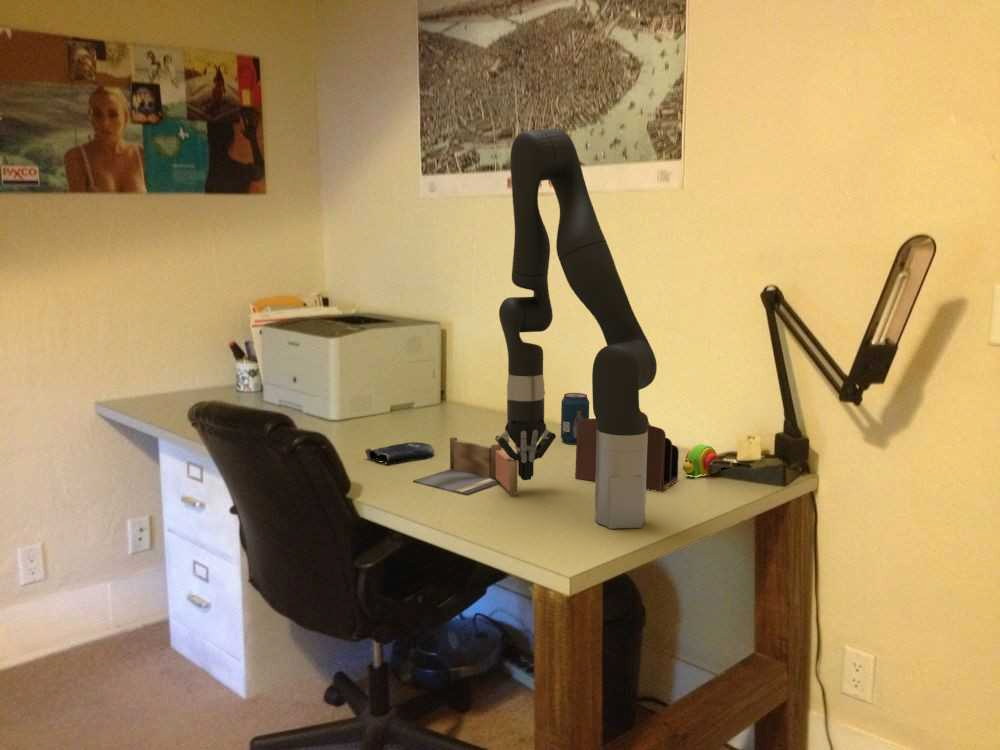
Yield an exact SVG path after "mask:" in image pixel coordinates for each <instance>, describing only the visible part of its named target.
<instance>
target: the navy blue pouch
mask: <svg viewBox="0 0 1000 750" xmlns="http://www.w3.org/2000/svg"><path fill="white" fill-rule="evenodd" d="M365 454H366V455H365V456H366V458H367V460H370V459H376V458H379V459H378V460H379V461H380V460H381V459H382V457H383V458H386V460H382V461H383V462H379V461H377V462H376V463H379V464H383V463H385V462H386V461H387V460H388V461H387V462H386V463H387V464H385V465H387V466H389V465H392V464H394V465H395V464H398V463H402V462H407V461H408V462H409V461H416V460H417V461H418V460H423V459H427V458H430V457H432V456H433V455H434V454H435V449H434V447H433V446H432V445H431V444H429V443H425V442H418V441H417V442H413V441H412V442H403V443H398V444H397V443H396V444H392V445H388V446H384V447H379V448H375V449H371V447H369V448H366V449H365ZM376 460H377V459H376Z"/></svg>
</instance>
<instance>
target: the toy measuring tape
mask: <svg viewBox="0 0 1000 750" xmlns="http://www.w3.org/2000/svg"><path fill="white" fill-rule="evenodd" d="M717 458H718V459H719V457H718V454H717V452H716V450H715V448H713V447H712V446H710V445H706V444H701V443H699V444H697V445H694V446H693V447H691V448H690V450H689V451H688V452H687V453H686V457H685V460H684V463H683V465H682V470H683V471H684V473H685V475H686V474H687V475H692V476H697V475H700V474H702V475H704V474H706V472H707V471H708V469H709V468H708V467H709V464H710V463H711V462H712V461H713V460H715V459H717Z"/></svg>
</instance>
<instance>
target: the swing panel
mask: <svg viewBox="0 0 1000 750" xmlns="http://www.w3.org/2000/svg"><path fill="white" fill-rule="evenodd" d="M496 479H497V480H498V481H499V482H500V483H501V484H500V485H502V486H503V487H504V488H505V489H506V490H507V491H508V493H509V494H517V493H518V461H515V460H513V459H512V458H510V457H509V456H508V455H507V453H506V452H505V451H504V450H502V451H501V450H499V451H496Z"/></svg>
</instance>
